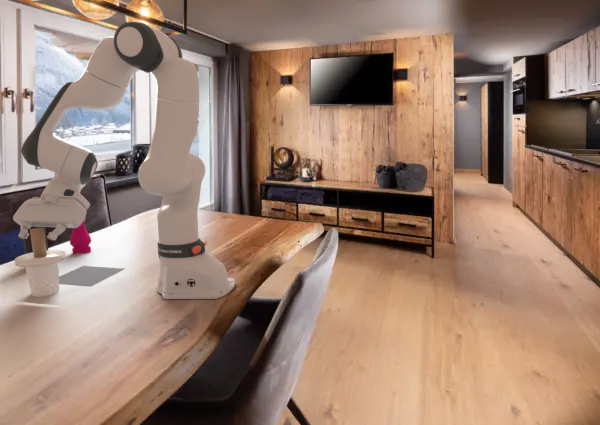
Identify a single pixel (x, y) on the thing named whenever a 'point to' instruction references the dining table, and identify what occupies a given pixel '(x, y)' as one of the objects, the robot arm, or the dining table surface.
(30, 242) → the bottle
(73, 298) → the dining table surface
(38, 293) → the white cup
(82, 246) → the pepper mill
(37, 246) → the lid
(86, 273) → the slate mat
